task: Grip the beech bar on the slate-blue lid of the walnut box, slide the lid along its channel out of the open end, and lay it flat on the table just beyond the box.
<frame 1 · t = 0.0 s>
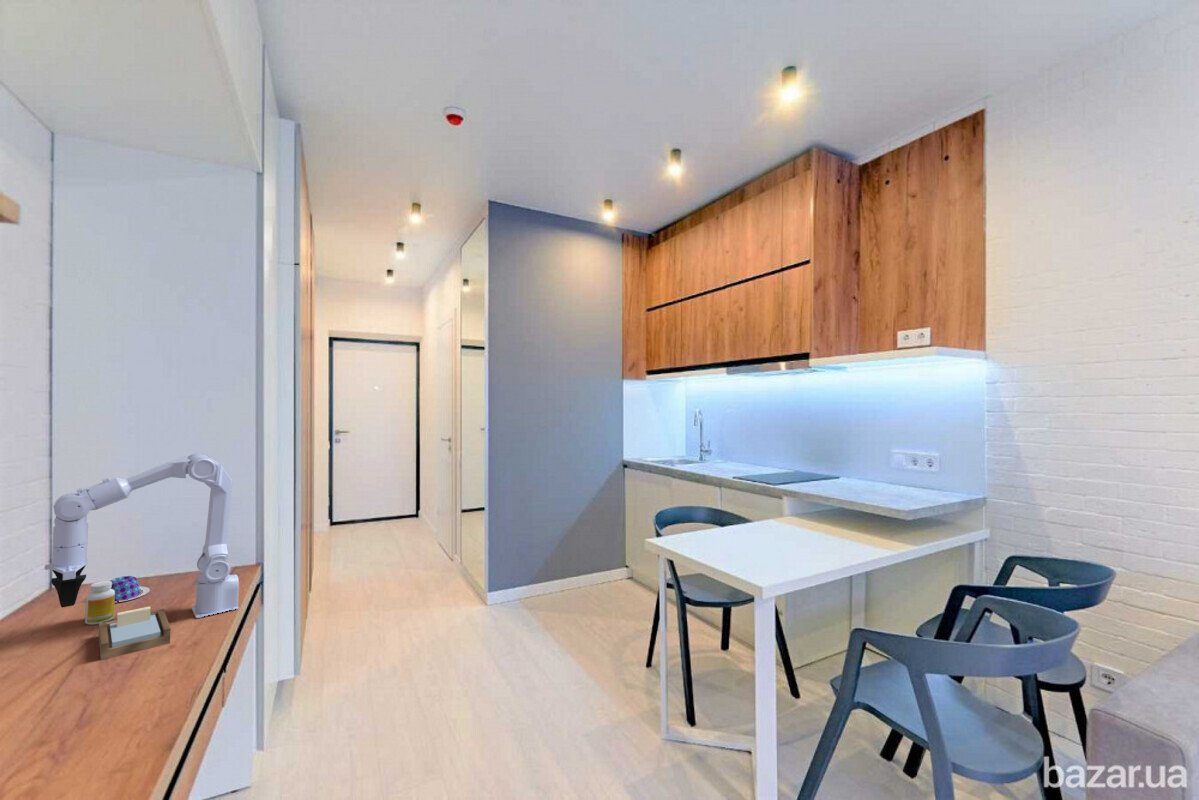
hand: (67, 600, 120), 10 cm above the table, tool pointing down, fingers open, 7 cm apart
box: (134, 639, 123), on the table
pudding: (121, 597, 146), on the table
lid: (134, 632, 123), point 2 cm above the table, touching box
supplement bottle: (99, 621, 131), on the table
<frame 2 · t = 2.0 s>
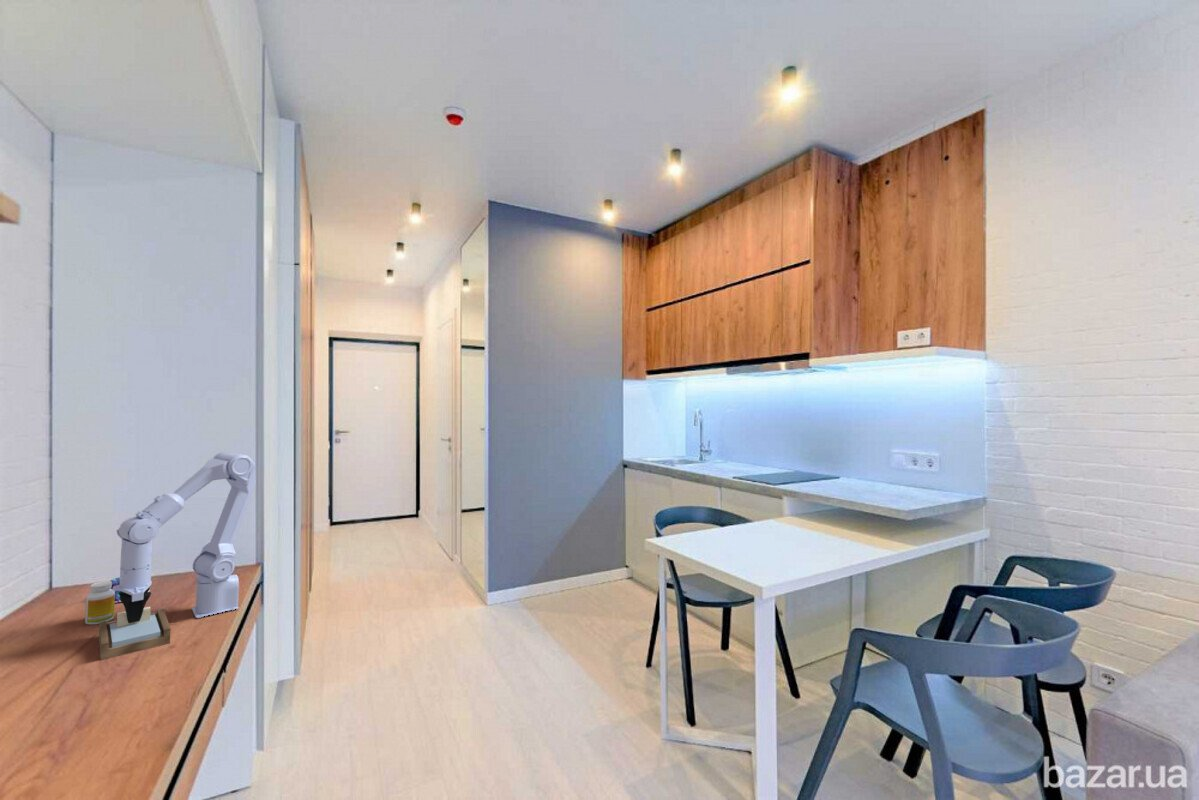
hand: (133, 620, 125), 4 cm above the table, tool pointing down, fingers closed on lid, 2 cm apart
lid: (134, 632, 123), point 2 cm above the table, touching box, gripper
everything else where it was.
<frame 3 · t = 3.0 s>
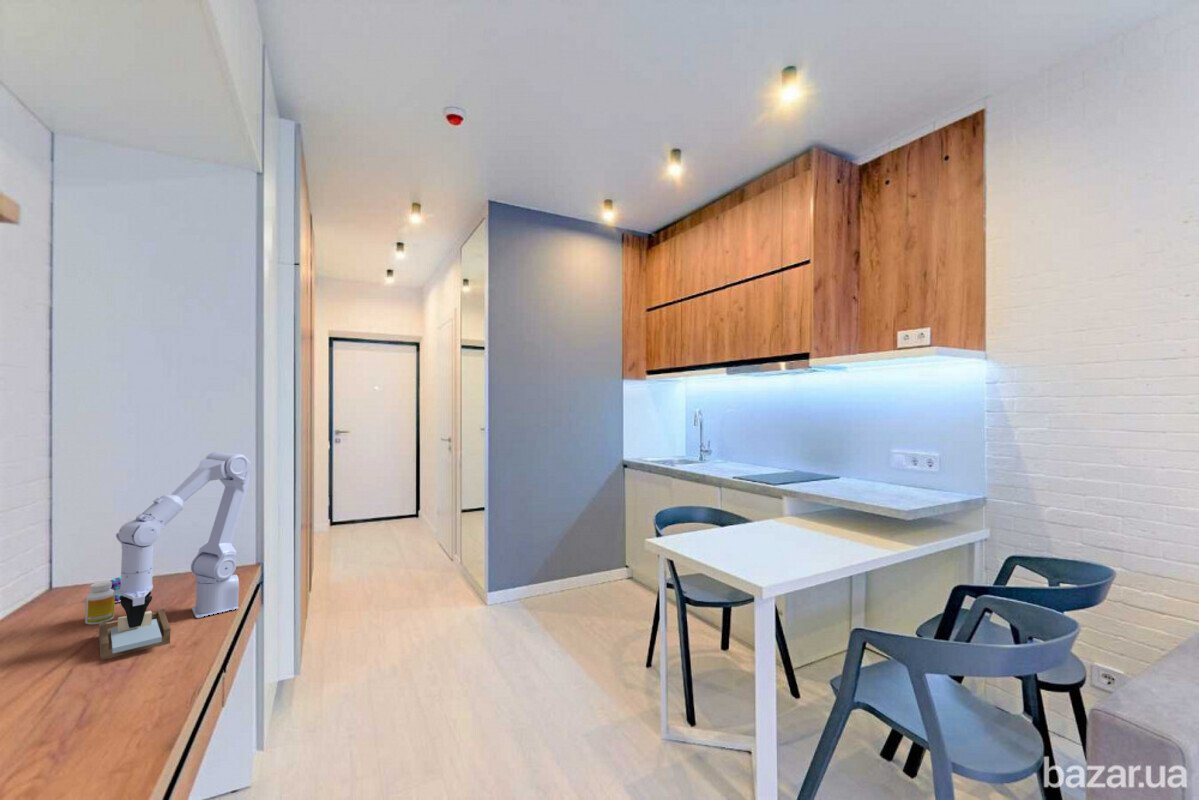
hand: (134, 624, 123), 4 cm above the table, tool pointing down, fingers closed on lid, 2 cm apart
lid: (135, 637, 120), point 2 cm above the table, touching gripper
everything else where it was.
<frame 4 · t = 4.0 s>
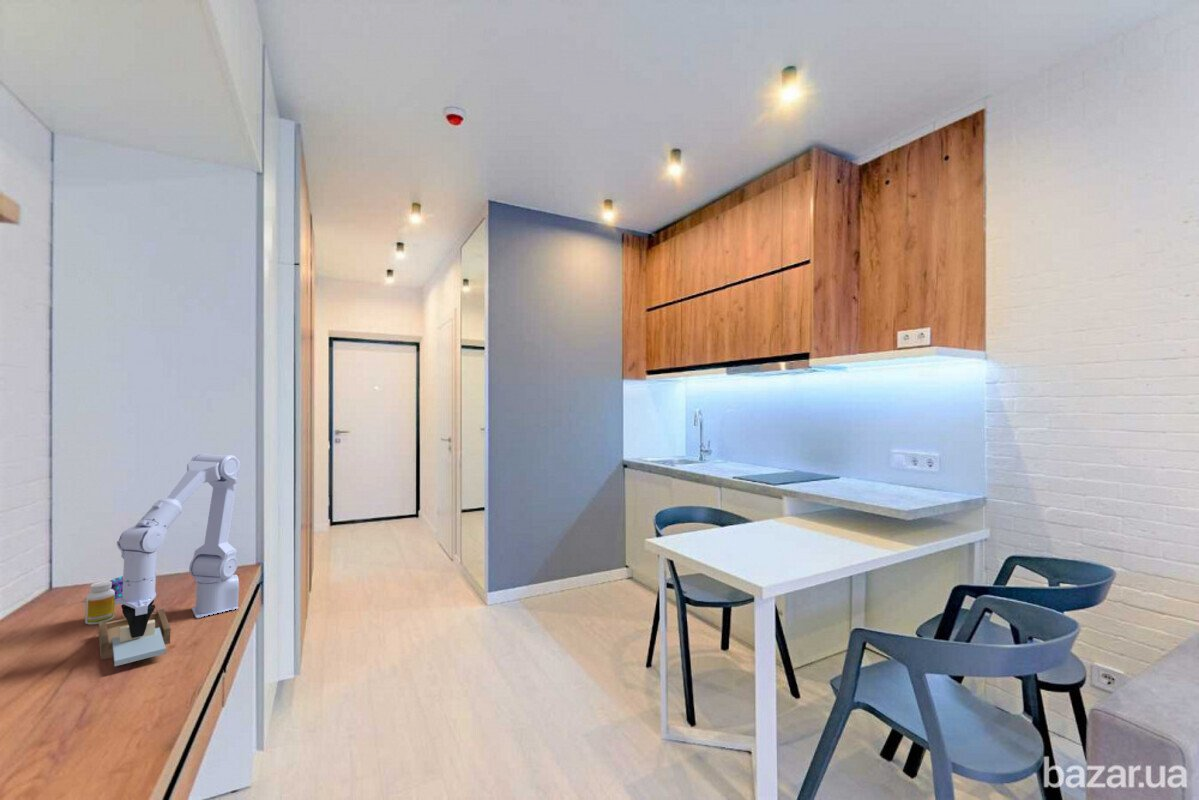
hand: (137, 634, 118), 4 cm above the table, tool pointing down, fingers closed on lid, 2 cm apart
lid: (138, 648, 116), point 2 cm above the table, touching gripper
everything else where it was.
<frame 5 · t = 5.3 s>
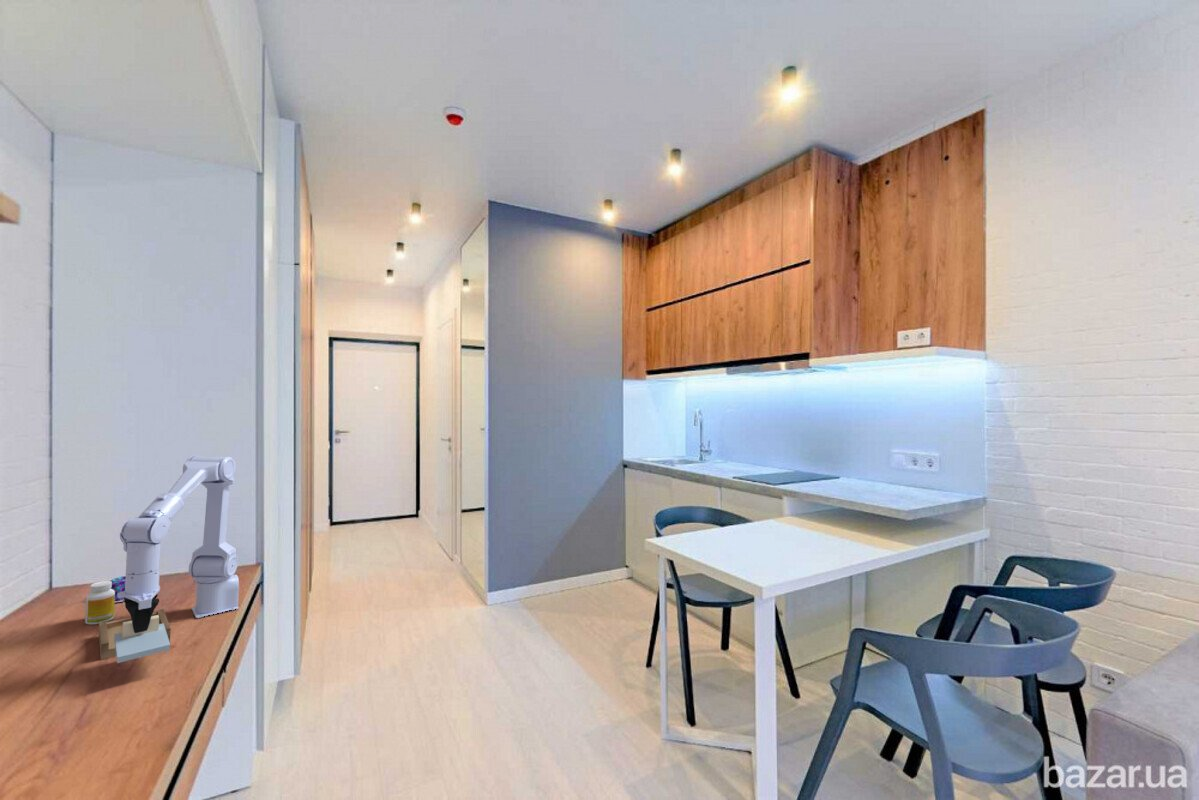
hand: (140, 629, 114), 7 cm above the table, tool pointing down, fingers closed on lid
lid: (141, 644, 112), point 5 cm above the table, touching gripper
everything else where it was.
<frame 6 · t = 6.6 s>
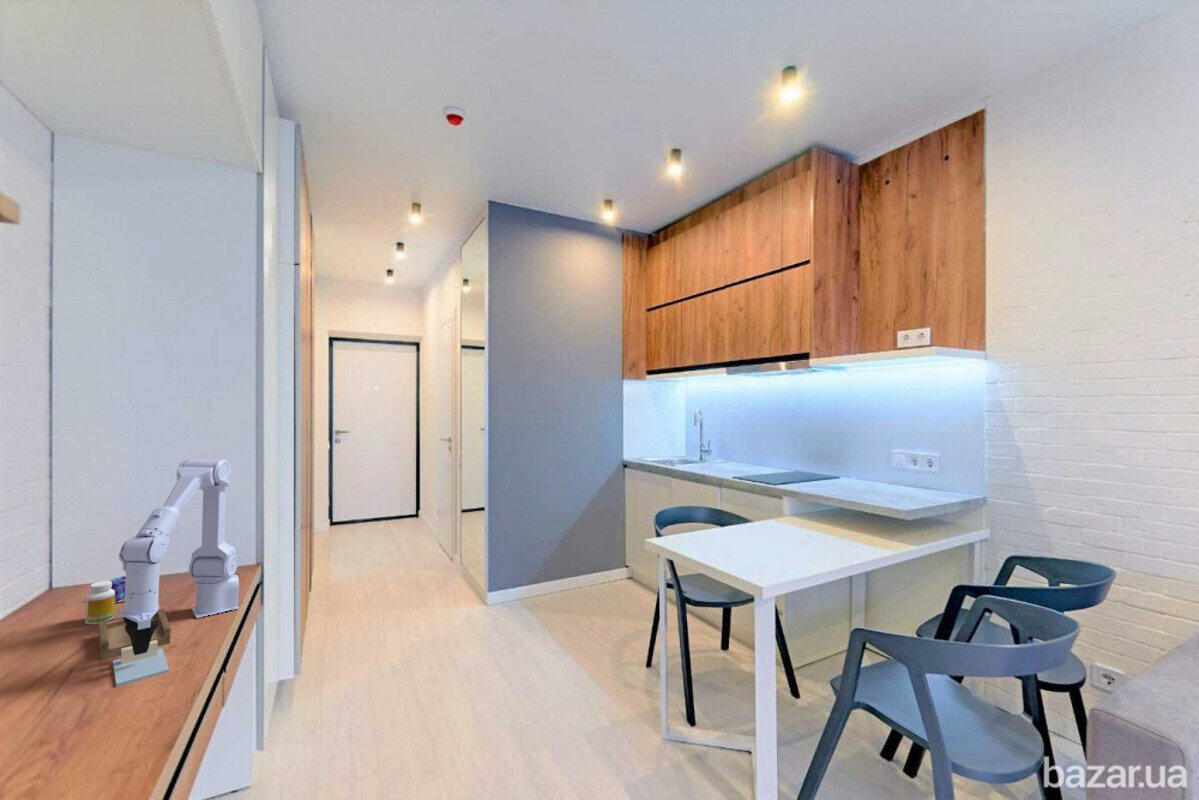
hand: (139, 648, 114), 3 cm above the table, tool pointing down, fingers open, 5 cm apart
lid: (140, 670, 112), on the table
everything else where it was.
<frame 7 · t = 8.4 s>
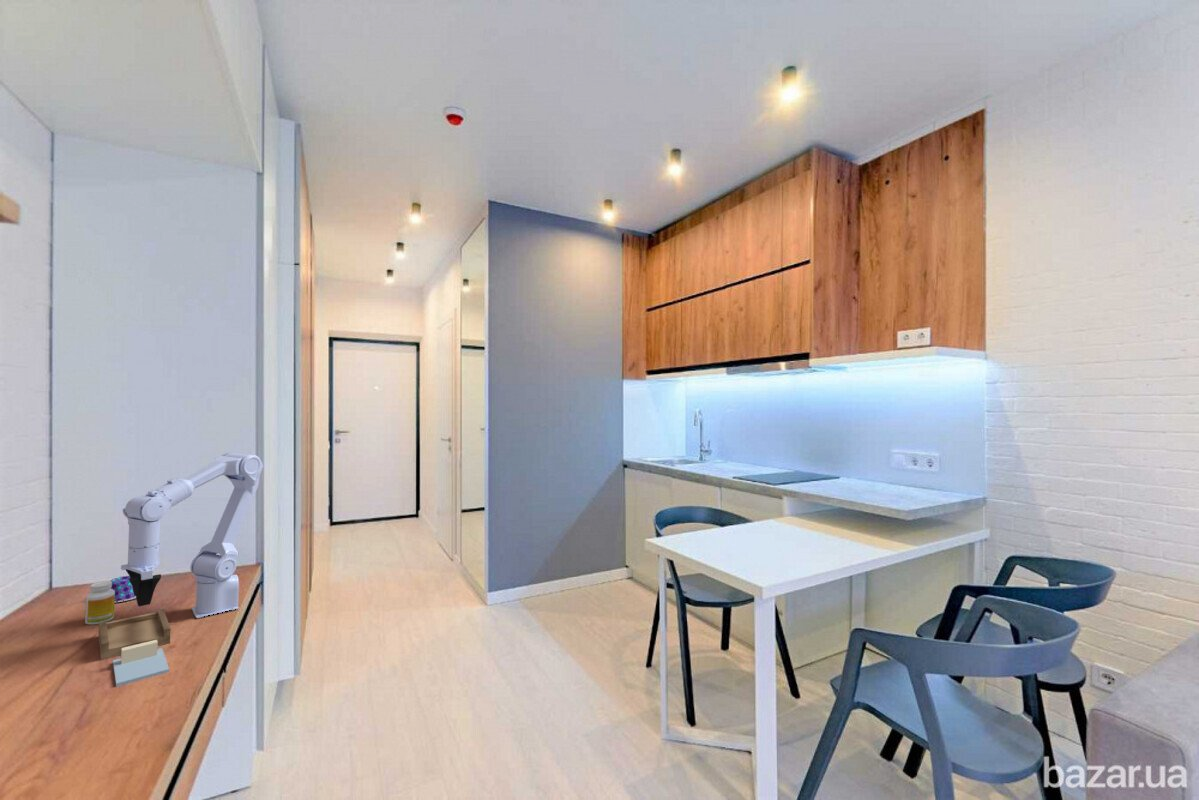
hand: (142, 599, 123), 10 cm above the table, tool pointing down, fingers open, 7 cm apart
nothing on the table moved.
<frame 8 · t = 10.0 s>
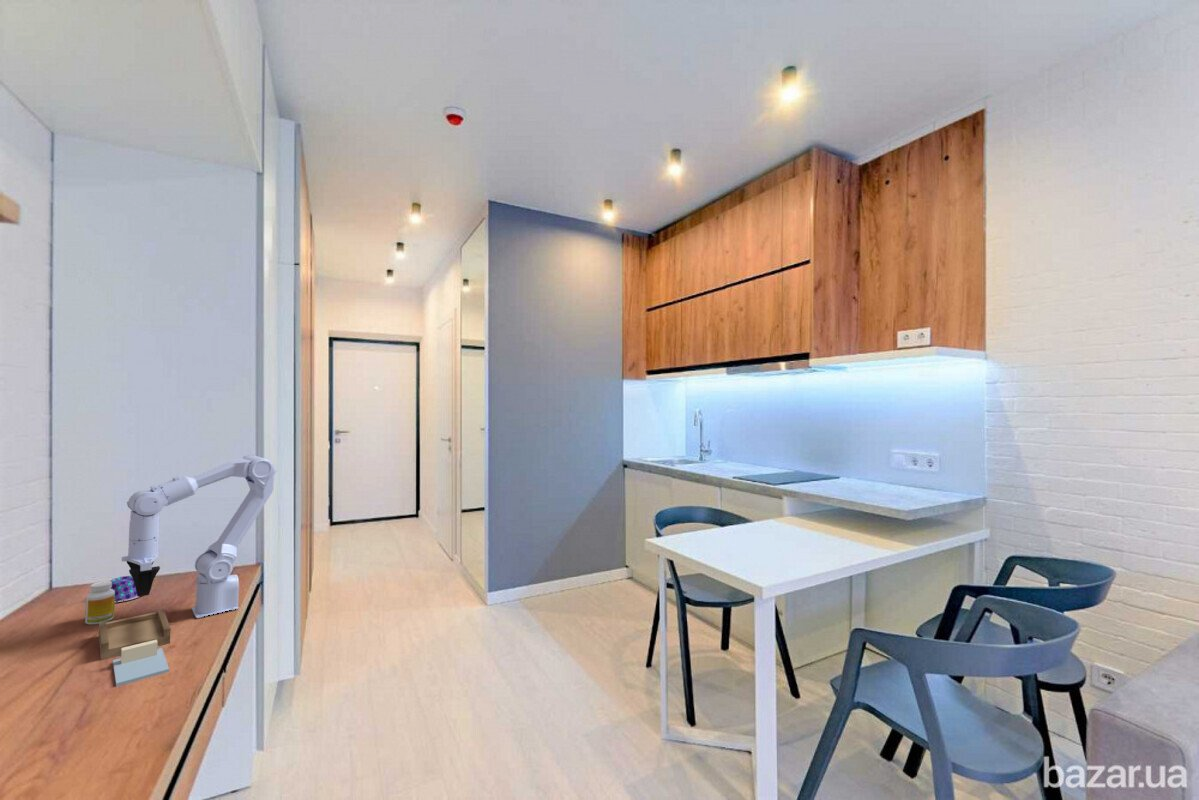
hand: (141, 590, 128), 10 cm above the table, tool pointing down, fingers open, 7 cm apart
nothing on the table moved.
at the end: lid inside the target area (1.0 cm from its centre), on the table; lid tilted 0°; the gripper is holding nothing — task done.
